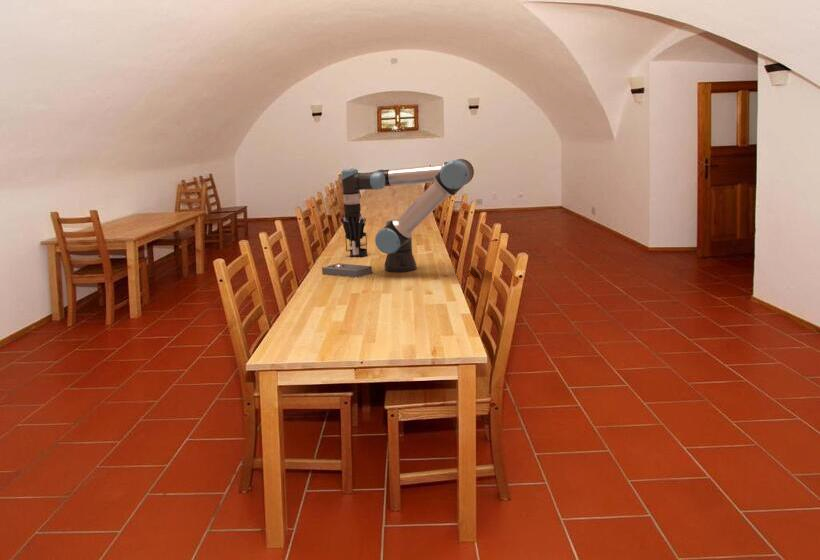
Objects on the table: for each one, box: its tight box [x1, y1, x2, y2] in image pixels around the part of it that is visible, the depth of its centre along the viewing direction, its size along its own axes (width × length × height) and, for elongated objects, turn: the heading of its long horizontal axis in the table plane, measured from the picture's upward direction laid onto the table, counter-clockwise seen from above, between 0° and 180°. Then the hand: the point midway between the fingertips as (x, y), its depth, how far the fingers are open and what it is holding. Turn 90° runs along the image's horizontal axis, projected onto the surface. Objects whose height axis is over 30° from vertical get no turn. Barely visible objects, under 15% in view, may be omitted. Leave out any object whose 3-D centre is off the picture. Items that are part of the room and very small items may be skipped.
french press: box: [344, 222, 369, 258], centre depth 382 cm, size 12×9×23 cm
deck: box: [321, 262, 373, 278], centre depth 341 cm, size 20×12×3 cm, turn 57°
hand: (355, 254), depth 337 cm, fingers closed
